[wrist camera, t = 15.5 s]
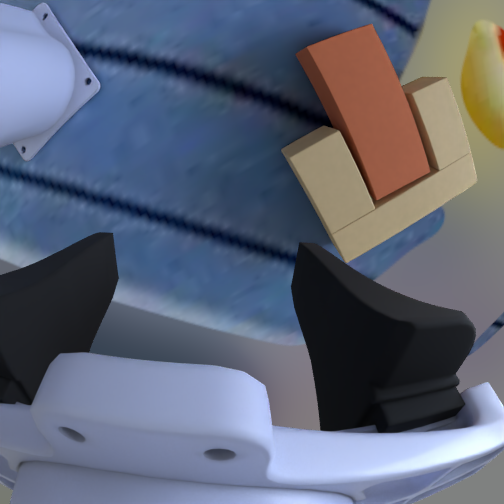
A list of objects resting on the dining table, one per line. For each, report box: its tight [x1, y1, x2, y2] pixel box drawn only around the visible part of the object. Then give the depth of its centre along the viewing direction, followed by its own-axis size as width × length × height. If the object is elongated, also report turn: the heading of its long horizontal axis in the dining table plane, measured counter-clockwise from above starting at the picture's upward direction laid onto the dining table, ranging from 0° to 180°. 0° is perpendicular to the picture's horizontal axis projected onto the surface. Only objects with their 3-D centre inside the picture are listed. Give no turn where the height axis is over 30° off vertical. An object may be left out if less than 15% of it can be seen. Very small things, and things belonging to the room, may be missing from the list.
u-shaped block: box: [281, 77, 477, 263], centre depth 18 cm, size 8×12×3 cm, turn 121°
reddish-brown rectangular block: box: [295, 24, 430, 200], centre depth 17 cm, size 10×4×3 cm, turn 29°
